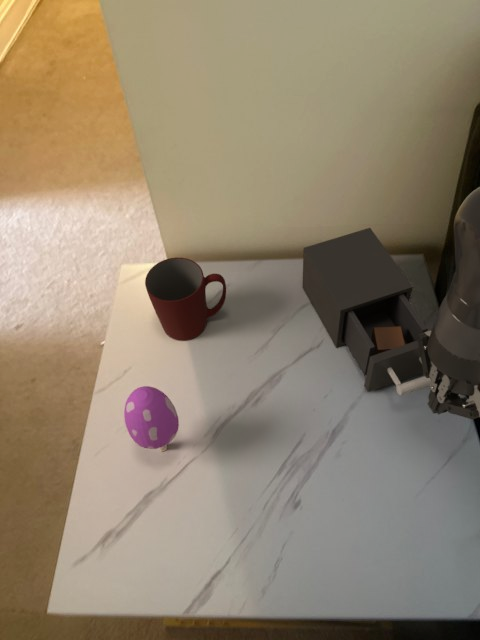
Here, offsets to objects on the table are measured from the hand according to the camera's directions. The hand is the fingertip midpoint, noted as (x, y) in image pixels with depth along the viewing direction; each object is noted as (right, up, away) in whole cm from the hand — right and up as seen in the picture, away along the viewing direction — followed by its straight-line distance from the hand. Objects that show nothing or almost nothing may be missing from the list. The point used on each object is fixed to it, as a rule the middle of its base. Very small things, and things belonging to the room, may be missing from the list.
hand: (437, 406), depth 74 cm
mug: (-33, +11, +20) cm, 40 cm away
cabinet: (-8, +14, +20) cm, 25 cm away
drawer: (-4, +5, +12) cm, 13 cm away
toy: (-37, -7, +7) cm, 38 cm away
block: (-4, +6, +11) cm, 13 cm away
